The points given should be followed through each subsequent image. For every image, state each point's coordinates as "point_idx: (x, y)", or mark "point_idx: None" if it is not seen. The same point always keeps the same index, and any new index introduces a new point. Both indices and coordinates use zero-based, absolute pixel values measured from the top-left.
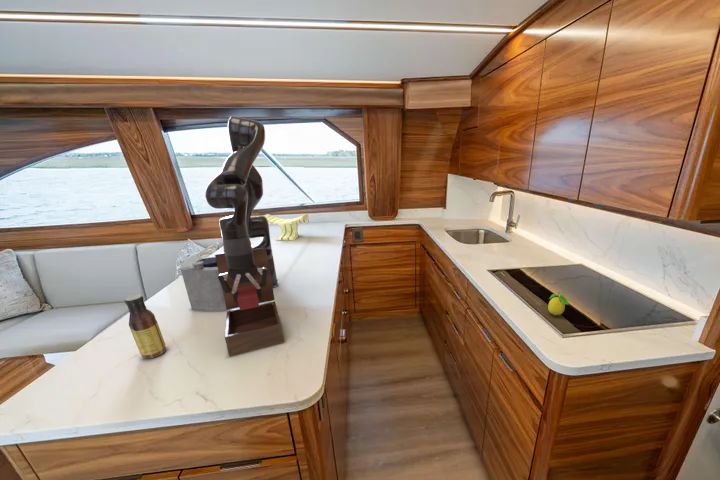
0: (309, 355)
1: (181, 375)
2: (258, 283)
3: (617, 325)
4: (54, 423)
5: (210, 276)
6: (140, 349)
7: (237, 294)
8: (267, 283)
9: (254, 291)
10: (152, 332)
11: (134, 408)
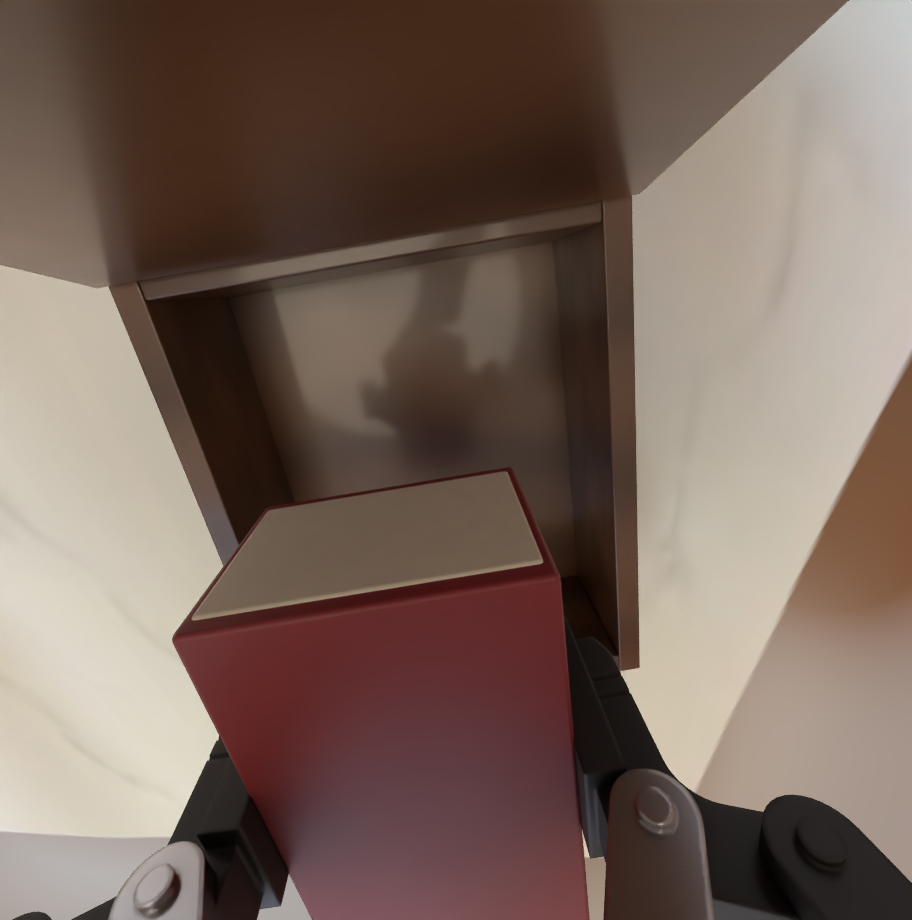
0: (687, 694)
1: (150, 690)
2: (694, 898)
3: None
4: None
5: None
6: None
7: (285, 879)
8: (740, 24)
9: (549, 827)
10: None
11: (84, 804)
